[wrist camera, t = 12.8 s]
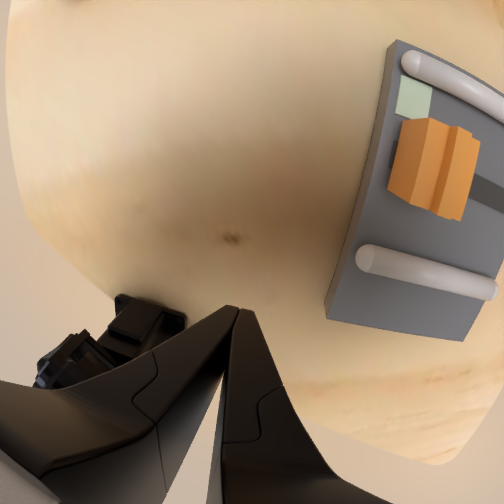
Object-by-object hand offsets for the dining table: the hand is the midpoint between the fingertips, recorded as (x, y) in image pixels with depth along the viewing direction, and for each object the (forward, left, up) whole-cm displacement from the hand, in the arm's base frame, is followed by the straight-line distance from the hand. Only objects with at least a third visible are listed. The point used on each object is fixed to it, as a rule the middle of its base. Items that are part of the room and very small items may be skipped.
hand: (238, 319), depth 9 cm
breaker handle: (+6, -7, -9) cm, 13 cm away
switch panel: (+4, -11, -11) cm, 16 cm away
